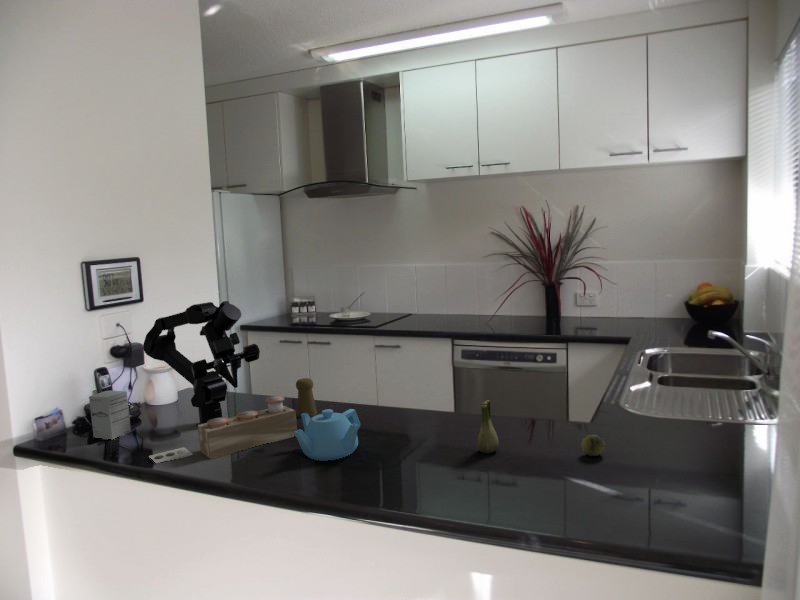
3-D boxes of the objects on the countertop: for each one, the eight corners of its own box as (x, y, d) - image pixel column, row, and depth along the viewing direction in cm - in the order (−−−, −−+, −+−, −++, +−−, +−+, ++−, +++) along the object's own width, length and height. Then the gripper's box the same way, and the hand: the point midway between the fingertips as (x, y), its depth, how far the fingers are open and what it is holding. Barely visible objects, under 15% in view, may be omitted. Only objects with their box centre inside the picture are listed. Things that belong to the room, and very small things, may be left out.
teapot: (360, 461, 147) (357, 417, 146) (296, 466, 146) (293, 422, 145) (362, 440, 162) (358, 400, 161) (303, 445, 161) (300, 404, 160)
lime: (578, 455, 141) (578, 434, 141) (595, 451, 143) (595, 430, 142) (592, 461, 137) (591, 439, 136) (609, 457, 139) (608, 435, 138)
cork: (313, 417, 186) (310, 381, 184) (294, 417, 187) (290, 381, 186) (319, 411, 191) (316, 376, 190) (301, 411, 193) (298, 376, 192)
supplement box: (92, 439, 179) (87, 396, 177) (113, 431, 185) (108, 389, 184) (112, 440, 176) (106, 397, 174) (132, 432, 183) (127, 390, 181)
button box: (200, 451, 162) (197, 425, 161) (285, 429, 175) (282, 405, 175) (210, 458, 155) (208, 431, 154) (297, 435, 169) (295, 410, 168)
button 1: (206, 439, 161) (204, 420, 160) (225, 434, 164) (224, 416, 163) (213, 444, 157) (211, 424, 156) (233, 439, 160) (231, 420, 159)
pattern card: (148, 457, 159) (148, 455, 159) (184, 448, 165) (183, 446, 165) (156, 464, 154) (155, 462, 154) (192, 455, 159) (192, 452, 159)
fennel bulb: (488, 446, 151) (485, 397, 150) (504, 450, 148) (502, 400, 146) (473, 453, 147) (470, 403, 146) (489, 457, 143) (487, 406, 142)
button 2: (263, 416, 170) (261, 398, 169) (280, 412, 173) (279, 394, 172) (271, 420, 166) (269, 402, 165) (289, 416, 169) (287, 398, 168)
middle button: (236, 432, 166) (234, 413, 165) (254, 427, 169) (252, 409, 168) (243, 436, 161) (241, 417, 161) (262, 431, 164) (260, 413, 164)
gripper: (183, 336, 168) (201, 386, 162) (250, 316, 176) (270, 363, 170) (185, 355, 177) (203, 402, 171) (249, 335, 185) (267, 380, 179)
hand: (236, 387), depth 173 cm, fingers closed
